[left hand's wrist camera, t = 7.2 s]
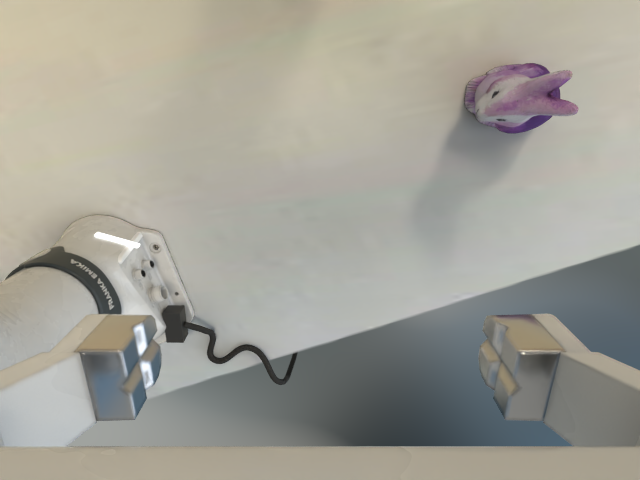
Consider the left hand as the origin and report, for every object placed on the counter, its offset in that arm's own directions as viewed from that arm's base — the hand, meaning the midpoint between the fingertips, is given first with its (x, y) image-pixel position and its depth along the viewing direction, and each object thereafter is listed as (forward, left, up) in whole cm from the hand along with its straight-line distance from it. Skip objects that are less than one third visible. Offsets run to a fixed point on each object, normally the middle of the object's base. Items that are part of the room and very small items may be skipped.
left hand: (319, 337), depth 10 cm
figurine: (-4, +23, -48) cm, 53 cm away
